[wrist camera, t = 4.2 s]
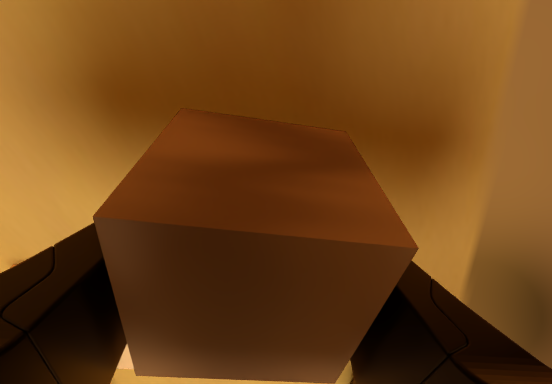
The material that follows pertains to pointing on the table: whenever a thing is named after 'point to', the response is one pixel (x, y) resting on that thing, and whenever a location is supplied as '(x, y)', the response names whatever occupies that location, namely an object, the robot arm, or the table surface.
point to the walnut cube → (249, 250)
